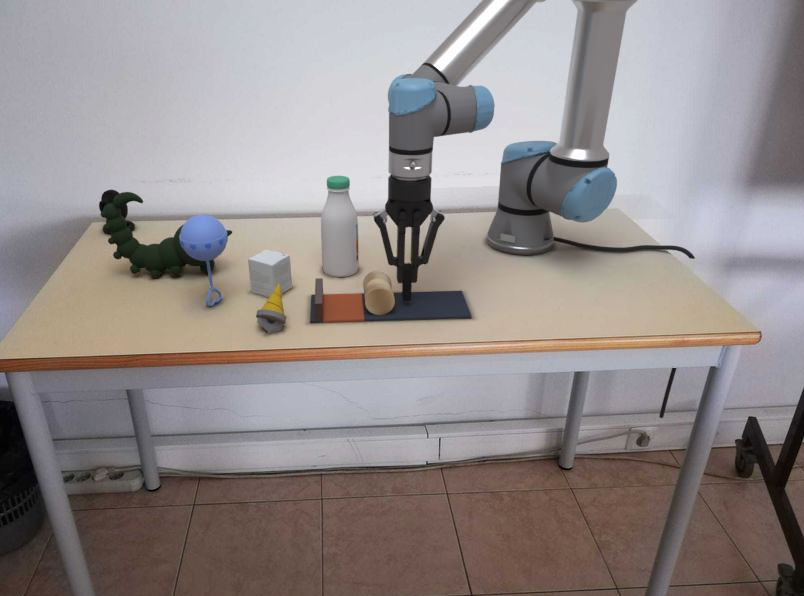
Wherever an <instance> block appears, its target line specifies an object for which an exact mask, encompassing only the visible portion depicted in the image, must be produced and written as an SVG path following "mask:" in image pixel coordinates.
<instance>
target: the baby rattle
mask: <svg viewBox="0 0 804 596" xmlns="http://www.w3.org/2000/svg"><path fill="white" fill-rule="evenodd" d="M183 224H184V225H183ZM183 224H182V225H183V227H182V229H181V233H180V236H179V239H180V244H181V246H182V248H183V249H184V251H185V252H186V253H187V254H188V255H189V256H191V257H192V258H194V259H196V260H200V261H206V264H207V270H208V273H207V275H208V282H209V290H208V292H207V295H206V297H205V304H206V306H207V307H209V308H210V307H211V308H212V307H213V306H214V305H215V304H219V303H220V302H221V300H222V297H223V294H222V292H221V291H220V290H219V289H217V288H216V287H214V282H213V275H212V272H211V269H210V263H209V260H213V259H214V260H215V259H217V258H218V257H220V256H221V255H222V253H224V251H225V249H226V247H227V244H228V241H229V236H228V235H227V231H226V230H227V229H226V228H225V226H224V225H223V223H222V222H221V221H220V220H219V219H217V218H216V217H214V216H212V215H209V214H197V215H193V216H192V217H190V218H188V219H187V220H186V221H185V222H184V223H183ZM214 292H215V293H217V296H218V297H217V299H213V300H212V301H211V302H210V300H211V296H212V294H213V293H214Z"/></svg>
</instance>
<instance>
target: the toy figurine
mask: <svg viewBox="0 0 804 596" xmlns="http://www.w3.org/2000/svg"><path fill="white" fill-rule="evenodd" d="M119 193H120V194H118V195H116V196H115V197H114V200H113V203H114V204H107V205H106V206H105V207H104V208H103V212H101V211H100V216H101V218H104V219H106V220H105V224H103V226H104V228H105V230H110V231H111V235H110V237H108V239H107V243H108V244H109V245H116V250H115V251H113V254H112V256H113V258H114V259H115V260H121V259H122V258H124V259H127V260H128V261H129V263H130V264H131V265H130V267H129V271H130V273H132V274H134V275H137V274H139V273H140V272H141V269H145V270H146V271H147V272H149V275H150V276H151V278H152V279H153V278H154V279H157V278H160V276H161V273H163V272H166V270H169V274H171V275H172V276H174V277H179V276H180V275H181V274H182V272H183V268H184V267H186V266H190V267H196V268H197V267H199V270H200V271H201V272H202V273H204V274H208V270H207V264H206V261H200V260H196V259H194V258H192V257H191V256H189V255H188V254H187V253H186V252H185V251H184V249H183V248H182V246H181V244H180V239H179V236H180V233H181V229H182V227H183V225H184V224H185V223H183V224H181V225H180V226H179V227H178V229H176V231H175V233H174V235H173V236H171V237H166V238H164V239H163V240H161V241H160V242H159V243H151V244H148V245H147V244H144V243H140V241H139V240H138V239H137V238H135V237H134V235H133V230H132V231H131V230H130V229H129V228H128V227H127V223H126V220H127V219H126V218H124V217H123V216H122V215H121V210H120V208H122V207H124V206H125V205H126V204H127V205H128V204H129V203H131V202H137V203H139V204H143V203H144V200H143V198H142V197H141V196H140V195H138V194H136V193H134V192H132V191H123V192H119ZM226 231H227V235H228V237H230V236H231V235H232V234H233V230H230V229H226ZM214 260H215V259H213V260H209V263H210V269H211V273H212V272H213V271H214V270H215V261H214Z"/></svg>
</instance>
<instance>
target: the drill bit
mask: <svg viewBox="0 0 804 596" xmlns="http://www.w3.org/2000/svg"><path fill="white" fill-rule="evenodd" d="M255 317H256V319H257V320H256V323H257V324H258V325H259V326H260V327H262V328H263V329H264V330H265V331H267V332H266V335H270V334H275V333H277V332H281V331H282V329H283V325H285V324H286V321H287V316H286V315H285V311H284V304H283V296H282V294H281V288H280V283H279V284H278V285H277V286H276V288H275V289H274V291H273V292H272V294H271V295H270V297H267V300H266V301H265V302H264V304H263V306H262V307H261V308H260V309H257V311H256V314H255Z"/></svg>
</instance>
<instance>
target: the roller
mask: <svg viewBox="0 0 804 596" xmlns="http://www.w3.org/2000/svg"><path fill="white" fill-rule="evenodd" d="M362 288H363V293H364V297H365V305H366V308H367V309H368V310H369V311H370V312H371V313H373V314H375V315H384V314H386V313H388V312H390V311H391V310H392V309H393V307H394V304H395V298H394V293H393V292H394V289H393V283H392V280H391V277H390V275H388V273H386V272H384V271H382V270H374V271H370V272H369V273H368V274H366V275H365V276H364V278H363V281H362Z"/></svg>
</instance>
